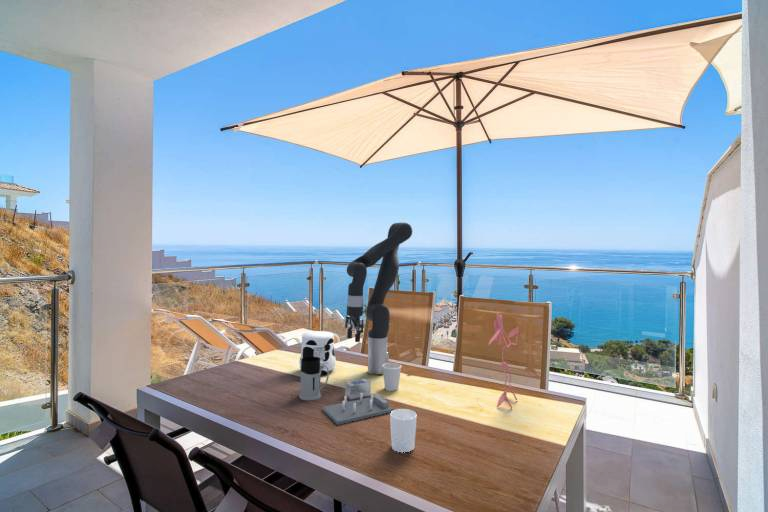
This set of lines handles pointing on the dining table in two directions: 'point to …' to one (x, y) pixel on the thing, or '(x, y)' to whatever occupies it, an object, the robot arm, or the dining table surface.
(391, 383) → the dixie cup
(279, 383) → the dining table surface
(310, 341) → the milk container
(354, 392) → the block
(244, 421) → the dining table surface
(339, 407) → the grey tapered peg board
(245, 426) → the dining table surface
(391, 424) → the white cup
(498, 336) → the figurine
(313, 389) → the white and black mug
